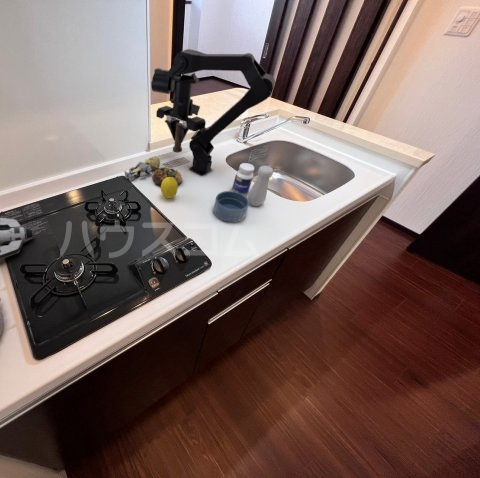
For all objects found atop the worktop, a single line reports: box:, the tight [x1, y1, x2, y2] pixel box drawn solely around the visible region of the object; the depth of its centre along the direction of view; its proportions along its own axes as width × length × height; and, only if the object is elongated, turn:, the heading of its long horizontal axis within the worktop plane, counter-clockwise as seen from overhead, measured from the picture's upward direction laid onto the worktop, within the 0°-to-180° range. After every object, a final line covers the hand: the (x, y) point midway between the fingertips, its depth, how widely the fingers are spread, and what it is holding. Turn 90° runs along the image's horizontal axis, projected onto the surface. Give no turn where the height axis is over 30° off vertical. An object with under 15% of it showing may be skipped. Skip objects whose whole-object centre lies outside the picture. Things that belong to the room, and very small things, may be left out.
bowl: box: [213, 190, 250, 223], centre depth 81 cm, size 10×10×5 cm
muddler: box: [172, 122, 183, 154], centre depth 97 cm, size 4×4×10 cm
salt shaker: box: [247, 165, 274, 207], centre depth 82 cm, size 6×6×13 cm
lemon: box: [160, 177, 179, 199], centre depth 85 cm, size 6×6×8 cm
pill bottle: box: [231, 162, 255, 197], centre depth 88 cm, size 6×6×10 cm
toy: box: [124, 156, 161, 182], centre depth 97 cm, size 8×5×15 cm
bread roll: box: [152, 166, 183, 187], centre depth 94 cm, size 11×11×5 cm
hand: (178, 141), depth 98 cm, fingers closed on muddler, 2 cm apart
